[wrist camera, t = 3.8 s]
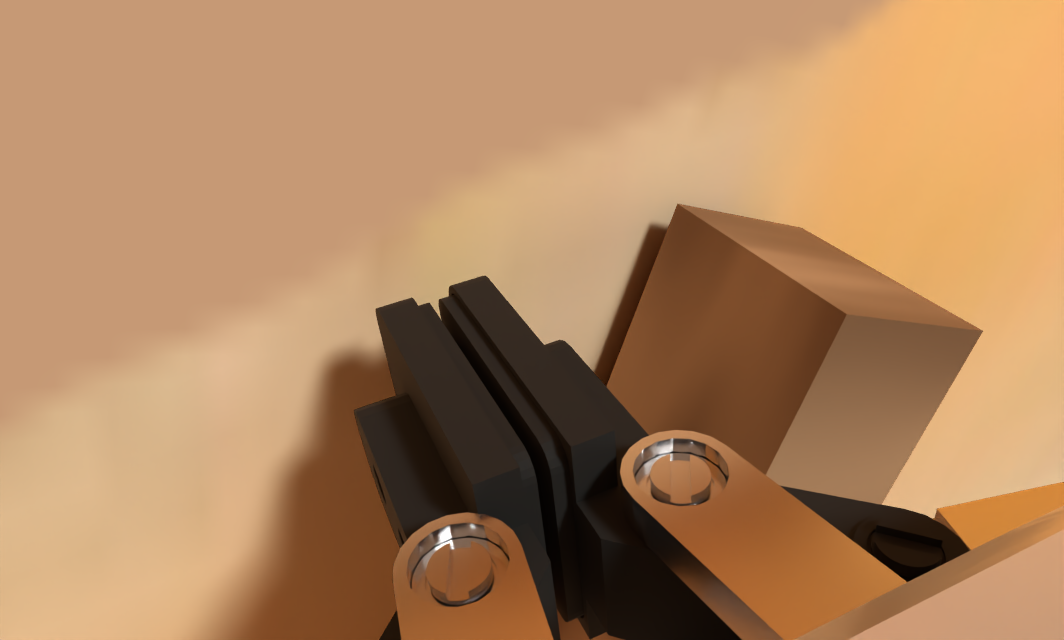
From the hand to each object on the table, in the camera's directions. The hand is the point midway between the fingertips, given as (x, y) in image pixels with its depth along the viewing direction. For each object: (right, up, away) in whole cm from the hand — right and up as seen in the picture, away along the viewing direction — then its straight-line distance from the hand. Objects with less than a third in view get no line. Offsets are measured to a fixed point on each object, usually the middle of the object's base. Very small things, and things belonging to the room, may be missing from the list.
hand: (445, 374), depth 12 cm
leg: (+3, -4, +5) cm, 7 cm away
